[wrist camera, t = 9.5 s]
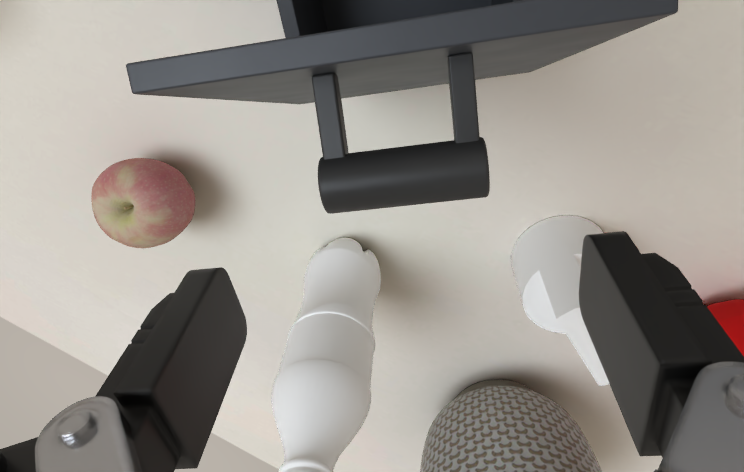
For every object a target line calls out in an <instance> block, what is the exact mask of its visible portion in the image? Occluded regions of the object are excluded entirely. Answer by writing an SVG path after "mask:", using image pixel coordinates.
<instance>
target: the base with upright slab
mask: <svg viewBox="0 0 744 472" xmlns="http://www.w3.org/2000/svg"><path fill="white" fill-rule="evenodd" d="M601 233H603V231H602V230H601V229H600V227H599V226H598V225H596V224H595V223H593V222H592V221H590V220H588V219H585V218H582V217H579V216H570V215H562V216H555V217H550V218H547V219H545V220H542V221H539V222H537V223H536V224H534V225H533V226H531V227H529V228H528V229H527V230H526V231H525V232H524V233H523V234H522V235H521V236H520V237H519V238H518V240H517V241H516V243H515V245H514V246H513V250H512V254H511V265H512V269H513V273H514V276H515V280H516V284H517V287H518V291H519V294H520V298H521V301H522V305H523V308H524V310H525V312H526V315H527V316H528V317H529V318H530V319H531V321H532V322H533V323H534V324H536V325H538V326H539V327H541V328H543V329H545V330H548V331H552V332H555V333H565V334H566V335H567V336H568V338H569V340H570V341H571V343H572V344H573V346H574V347H575V349H576V351H577V352H578V354H579V355H580V357H581V358H582V360H583V362H584V363H585V365H586V366H587V368H588V369H589V371H590V373H591V374H592V376H593V377H594V379H595V380H596V382H597V384H598V385H599V386H603V385H607V384H610V383H609V381H608V379H607V376H606V374H605V371H604V369H603V367H602V364H601V362H600V359H599V357H598V355H597V352H596V350H595V347H594V345H593V343H592V340H591V338H590V335H589V333H588V331H587V328H586V326H585V324H584V321H583V318H582V315H581V311H580V305H579V282H580V271H581V259H582V247H583V240H584V237H585V236H586V235H590V234H601Z"/></svg>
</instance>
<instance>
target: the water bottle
mask: <svg viewBox="0 0 744 472" xmlns="http://www.w3.org/2000/svg"><path fill="white" fill-rule="evenodd" d="M380 284H381V274H380V267H379V264H378V261H377V259H376V257H375V255H374V253H373V252H371V251H370V250H369V249H368V250H366V251H364V252H363V250H362V247H361V245H360V244H359V243H358V242H357V241H355V240H353V239H351V238H339V239H336V240H334V241H332V242H330V243H329V244H328V245H327V246H326V247H324V246H323V247H321V248H319V249H318V250H317V251H316V252H315V253H314V254H313V256H312V257H311V259H310V261H309V263H308V266H307V269H306V272H305V277H304V296H303V302H302V305H301V308H300V311H299V314H298V316H297V319H296V321H295V322H294V324H293V326H292V327H291V329H290V331H289V334H288V340H287V344H286V347H285V351H284V354H283V358H282V361H281V365H280V368H279V372H278V374H277V376H276V378H275V380H274V383H273V389H272V409H273V415H274V418H275V422H276V425H277V429H278V432H279V435H280V438H281V441H282V444H283V448H284V463H283V464H282V465H281V467H280V468H279V472H333V469H334V466H335V463H336V462H337V460H338V458H339V456H340V455H341V453H342V452H343V451H344V449H345V448H346V447H347V446H348V444H349V443H350V442H351V441H352V439H353V438H354V436H355V435H356V434H357V432H358V431H359V429H360V428H361V426H362V425H363V423H364V421H365V419H366V417H367V414H368V411H369V407H370V403H371V391H370V385H371V373H372V362H373V353H374V350H375V338H374V333H373V328H372V317H373V310H374V305H375V301H376V298H377V296H378V293H379V291H380Z"/></svg>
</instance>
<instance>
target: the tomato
mask: <svg viewBox="0 0 744 472" xmlns="http://www.w3.org/2000/svg"><path fill="white" fill-rule="evenodd" d="M707 308H708V309H709V310H710V312H711V313H712V314H713V316H714V317H715V318H716V320H717V321H718V323H719V324H720V325H721V327H722V328H723V329H724V331H725V332H726V333H727V335H728V336H729V337H730V339H731V340H732V341H733V343H734V344H735V345H736V347H737V348H738V349H739V351H740V352H741V354H742V355H743V356H744V299H734V300H729V301H724V302H719V303H714V304H711V305H709V306H707Z"/></svg>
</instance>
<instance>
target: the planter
mask: <svg viewBox="0 0 744 472" xmlns="http://www.w3.org/2000/svg"><path fill="white" fill-rule="evenodd" d="M420 472H602V470H601V468H600V466H599V464H598V461H597V459H596V457H595V455H594V453H593V451H592V449H591V447H590V445H589V443H588V441H587V440H586V438H585V436H584V434H583V433H582V431H581V429H580V428H579V426H578V425H577V423H576V422H575V421H574V420H573V418H572V417H571V416H570V415H569V414H568V413H567V412H566V411H565V410H564V409H563V408H562V407H560V406H559V405H558V404H557V403H555V402H554V401H552V400H551V399H549V398H547V397H545V396H544V395H542V394H540V393H537V392H534V391H532V390H531V389H530V388H528V387H526V386H524V385H522V384H520V383H517V382H514V381H509V380H487V381H482V382H479V383H476V384H474V385H471V386H469V387H468V388H466V389H465V390H463V391H462V392H461V393H460V394H459V395H458V396H457V397H456V399H454V400H453V401H452V402H450V403H449V404H448V405H447V406H446V407H445V408H444V409H443V410H442V411H441V412H440V413H439V414H438V416H437V417H436V418H435V420H434V421H433V423H432V425H431V427H430V429H429V432H428V434H427V438H426V441H425V445H424V450H423V455H422V462H421V471H420Z"/></svg>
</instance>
